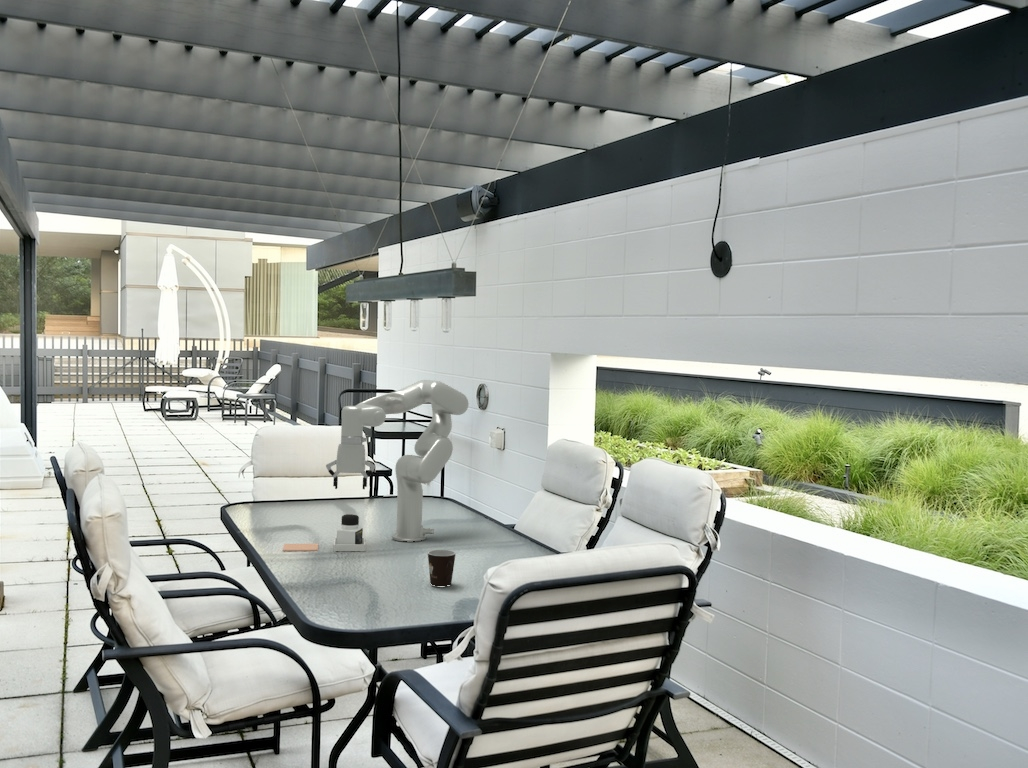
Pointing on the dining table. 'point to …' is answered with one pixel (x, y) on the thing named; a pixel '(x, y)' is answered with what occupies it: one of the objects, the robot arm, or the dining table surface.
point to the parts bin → (349, 546)
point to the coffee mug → (441, 567)
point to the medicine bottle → (350, 530)
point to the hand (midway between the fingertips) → (349, 488)
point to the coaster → (300, 547)
